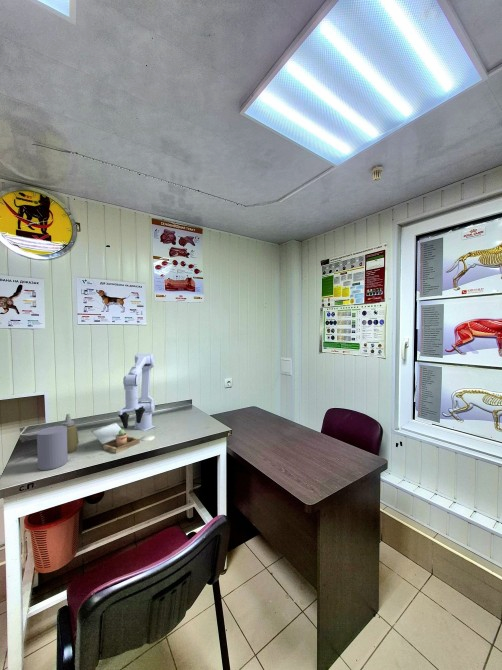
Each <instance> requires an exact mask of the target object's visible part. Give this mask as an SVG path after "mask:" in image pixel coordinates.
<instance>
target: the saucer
mask: <svg viewBox="0 0 502 670" xmlns="http://www.w3.org/2000/svg"><path fill="white" fill-rule="evenodd" d="M155 437H156V436H155V435H152V434H150V435H149V434H148V435H144V436H142V437H141V438H140V441H142V442H149V441H152V440H154V439H155Z"/></svg>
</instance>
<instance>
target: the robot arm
mask: <svg viewBox="0 0 502 670" xmlns="http://www.w3.org/2000/svg"><path fill="white" fill-rule="evenodd" d="M154 367H155V356H154V353H136V354H135V356H134V365H133V366H132V367H131V368H130V370H129V371H128V373H127V374H126V375H124V376H123V378H122V379H123V381H122V383H123V388H124V393H125V396H124V397H125V407H123V408H121V409H118V410H117V416H118V417H119V418H120V420H121V423H122V426H123V429H127V428H128V427H129V418H130V414H128V413H129V412H133V411H134V412H135V413H134V414H135V416H134V427H133V429H134V430H138V431H142V432H145V431H148V430H151V429H153V428H155V427H156V425H153V418H152V417H153V414H152V413H153V412H154V411H155V407H156V406H155V399H154V398H153V397H152V396H151V395H150V391H151V389H150V388H151V371H152V368H154ZM140 377H141V378H140ZM140 380H141V387H140V388H141V389H140V392H141V393H140V397H139V387H138V386H139V384H140Z"/></svg>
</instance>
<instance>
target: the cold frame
mask: <svg viewBox="0 0 502 670" xmlns="http://www.w3.org/2000/svg"><path fill="white" fill-rule="evenodd" d="M122 429H123V430H124V431H125V428H122ZM140 441H141V438H137V437H134V436H130V435H128V436H127V444H125V445H122V446H120V447H118V448H117V443H116V439H114V440H111V441H109V442H106V443H104V444H103V445H102V450H104V451H107V452H111V453H114V454H118V453H120V452H123V451H125V450H128V449H129V448H132V447H134V446H136V445H138V444H140V443H141V442H140Z"/></svg>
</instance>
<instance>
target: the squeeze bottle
mask: <svg viewBox="0 0 502 670" xmlns="http://www.w3.org/2000/svg"><path fill="white" fill-rule="evenodd" d="M61 426H66V427H67V454H72V453H74V452H75V451H77V448H78V446H79V442H80V441H79V433H78V429H77V428H78V427H77V425H76V424H75V420H72V418H71V415H70V413H67V414H66V415H65V420H64V421H63V422H62V423H61Z"/></svg>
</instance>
